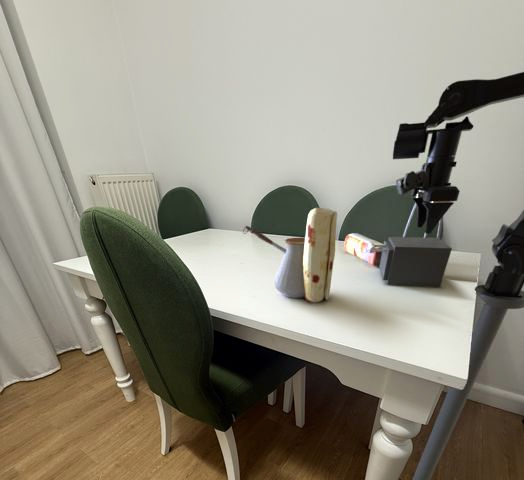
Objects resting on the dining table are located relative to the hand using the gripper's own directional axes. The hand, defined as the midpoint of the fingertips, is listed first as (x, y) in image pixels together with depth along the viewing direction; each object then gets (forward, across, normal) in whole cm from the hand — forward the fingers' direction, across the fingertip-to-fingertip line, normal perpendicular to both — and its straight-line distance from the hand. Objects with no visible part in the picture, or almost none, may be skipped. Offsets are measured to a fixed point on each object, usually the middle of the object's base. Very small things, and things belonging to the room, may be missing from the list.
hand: (423, 230), depth 74 cm
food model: (+13, +19, -25) cm, 34 cm away
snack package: (+13, -21, -11) cm, 27 cm away
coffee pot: (+13, +14, -35) cm, 40 cm away
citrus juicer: (+13, -17, +6) cm, 22 cm away
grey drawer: (+12, -1, -5) cm, 13 cm away
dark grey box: (+13, 0, -1) cm, 13 cm away
